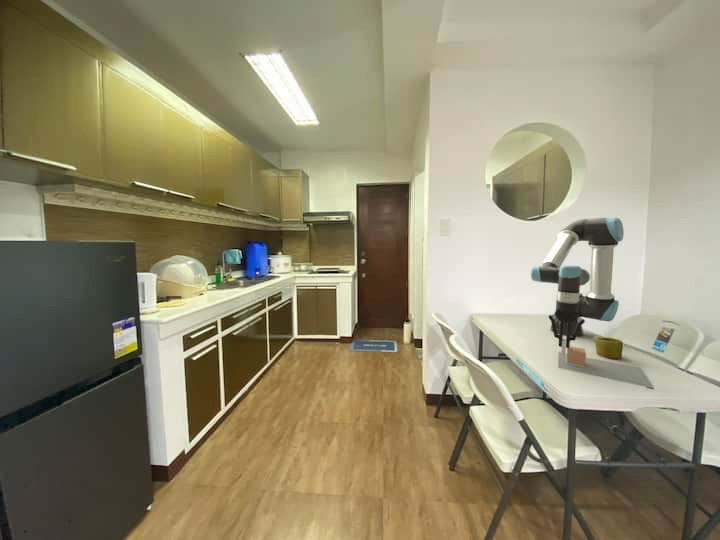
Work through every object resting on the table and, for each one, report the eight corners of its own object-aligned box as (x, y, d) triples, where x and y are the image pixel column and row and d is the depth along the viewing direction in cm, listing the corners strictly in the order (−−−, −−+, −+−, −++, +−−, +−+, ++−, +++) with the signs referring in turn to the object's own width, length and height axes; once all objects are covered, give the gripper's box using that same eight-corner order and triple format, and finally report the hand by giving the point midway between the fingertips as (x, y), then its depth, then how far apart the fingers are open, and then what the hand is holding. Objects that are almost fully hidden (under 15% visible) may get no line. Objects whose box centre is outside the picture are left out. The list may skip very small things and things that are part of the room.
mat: (558, 352, 133) (558, 352, 133) (640, 368, 117) (640, 367, 117) (558, 368, 117) (558, 367, 117) (653, 389, 101) (653, 388, 101)
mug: (633, 358, 122) (624, 335, 124) (607, 363, 125) (598, 341, 126) (616, 353, 134) (608, 332, 136) (592, 357, 136) (584, 337, 138)
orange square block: (566, 358, 126) (567, 345, 125) (583, 362, 122) (584, 348, 122) (566, 363, 121) (567, 350, 120) (584, 367, 117) (585, 353, 117)
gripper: (549, 301, 122) (545, 353, 124) (587, 305, 114) (582, 360, 117) (549, 298, 128) (545, 348, 131) (586, 301, 121) (581, 354, 123)
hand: (563, 354), depth 124 cm, fingers closed
